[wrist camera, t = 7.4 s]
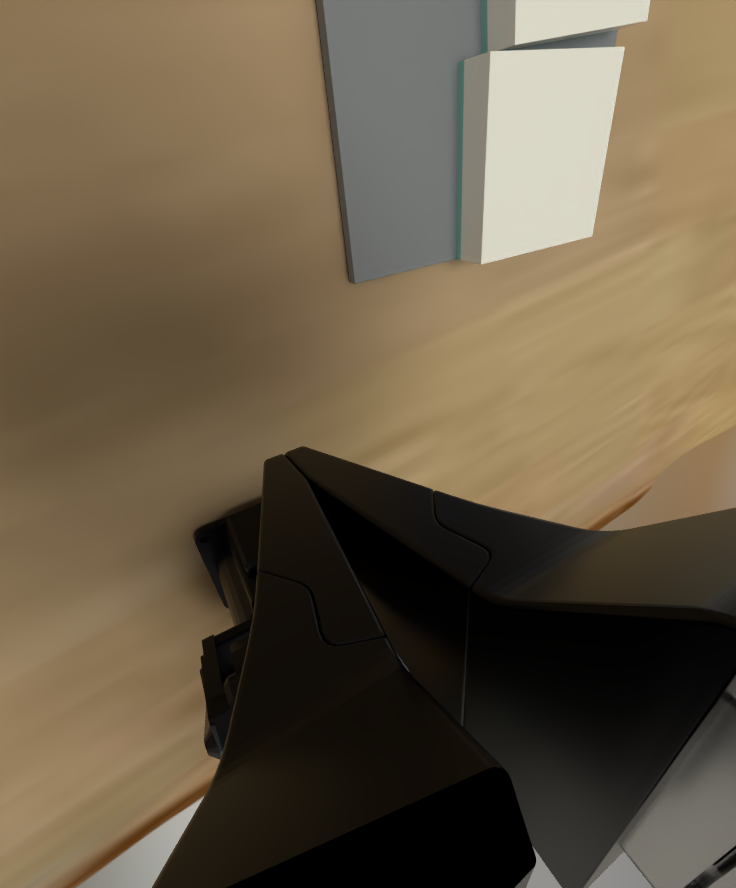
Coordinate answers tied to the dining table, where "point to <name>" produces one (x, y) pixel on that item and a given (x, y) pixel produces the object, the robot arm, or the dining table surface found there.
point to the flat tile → (553, 20)
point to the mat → (400, 123)
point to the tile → (531, 148)
